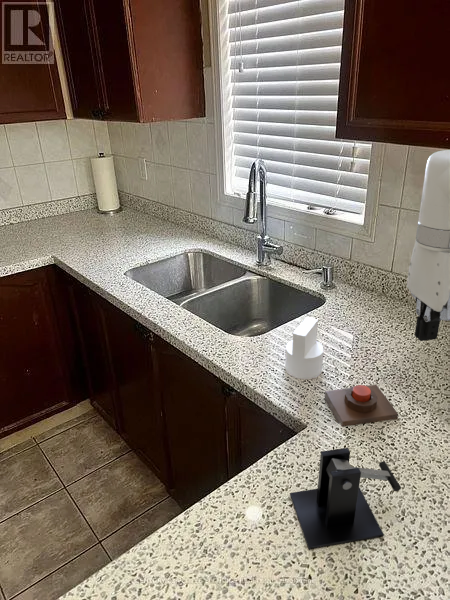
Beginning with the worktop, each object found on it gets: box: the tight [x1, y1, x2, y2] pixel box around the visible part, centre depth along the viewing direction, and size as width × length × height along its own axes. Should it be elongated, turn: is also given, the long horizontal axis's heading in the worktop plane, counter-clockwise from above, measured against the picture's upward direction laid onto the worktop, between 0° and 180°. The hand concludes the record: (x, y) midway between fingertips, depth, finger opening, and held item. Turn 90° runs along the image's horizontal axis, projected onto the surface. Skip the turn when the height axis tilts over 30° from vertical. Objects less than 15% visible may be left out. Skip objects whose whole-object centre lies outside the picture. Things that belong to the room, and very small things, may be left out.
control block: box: [324, 384, 399, 427], centre depth 95 cm, size 12×10×4 cm
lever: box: [326, 458, 402, 492], centre depth 69 cm, size 11×5×2 cm, turn 100°
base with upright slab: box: [284, 316, 325, 380], centre depth 107 cm, size 9×9×12 cm
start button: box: [352, 384, 371, 402], centre depth 94 cm, size 4×4×2 cm
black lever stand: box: [289, 447, 385, 551], centre depth 70 cm, size 12×10×13 cm
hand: (425, 337), depth 77 cm, fingers closed
